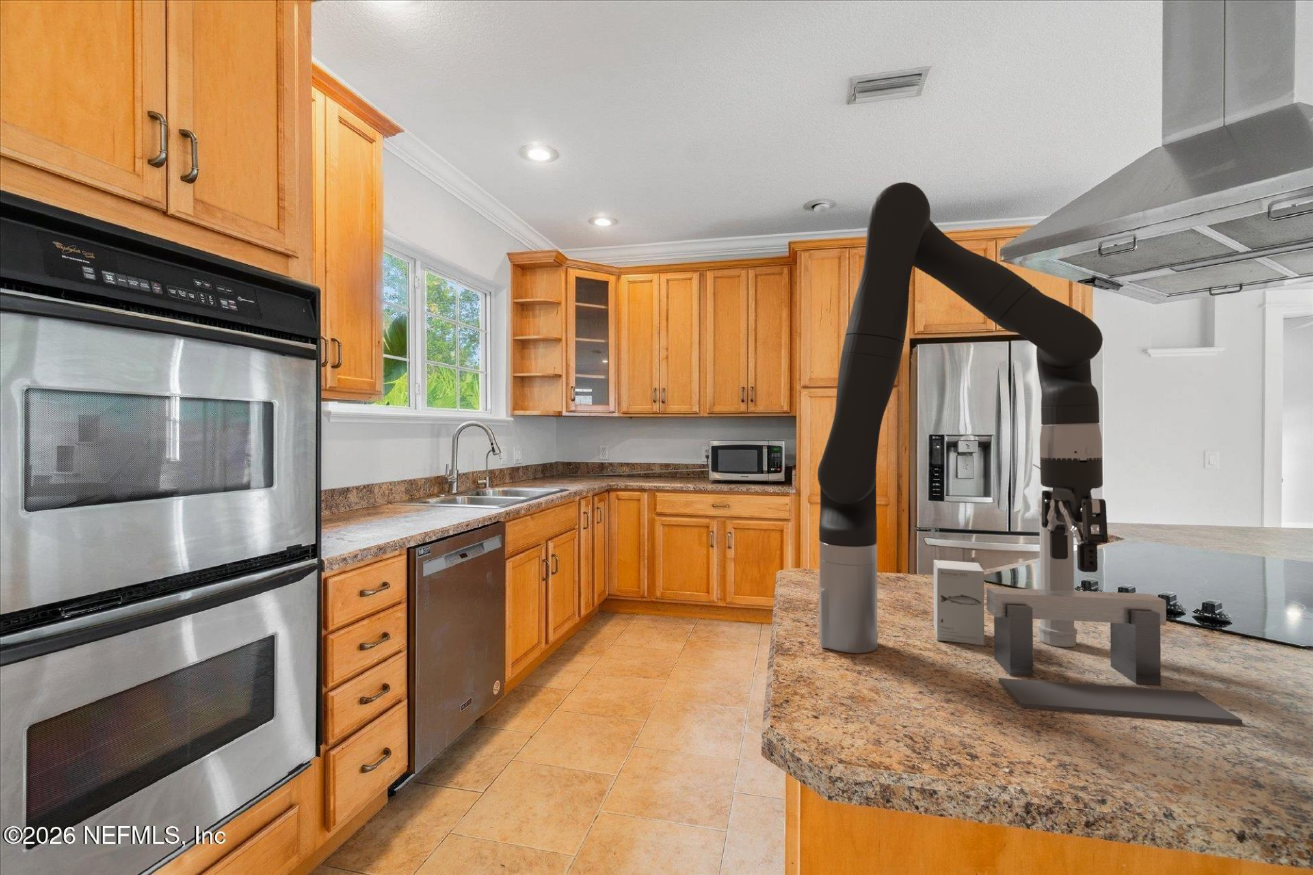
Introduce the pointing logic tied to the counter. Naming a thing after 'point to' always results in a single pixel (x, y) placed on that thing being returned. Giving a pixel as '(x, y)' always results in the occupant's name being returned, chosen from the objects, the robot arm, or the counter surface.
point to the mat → (1117, 700)
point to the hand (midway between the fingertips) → (1072, 564)
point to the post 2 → (1137, 648)
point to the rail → (1075, 604)
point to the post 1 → (1015, 640)
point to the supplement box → (959, 602)
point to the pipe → (1056, 587)
